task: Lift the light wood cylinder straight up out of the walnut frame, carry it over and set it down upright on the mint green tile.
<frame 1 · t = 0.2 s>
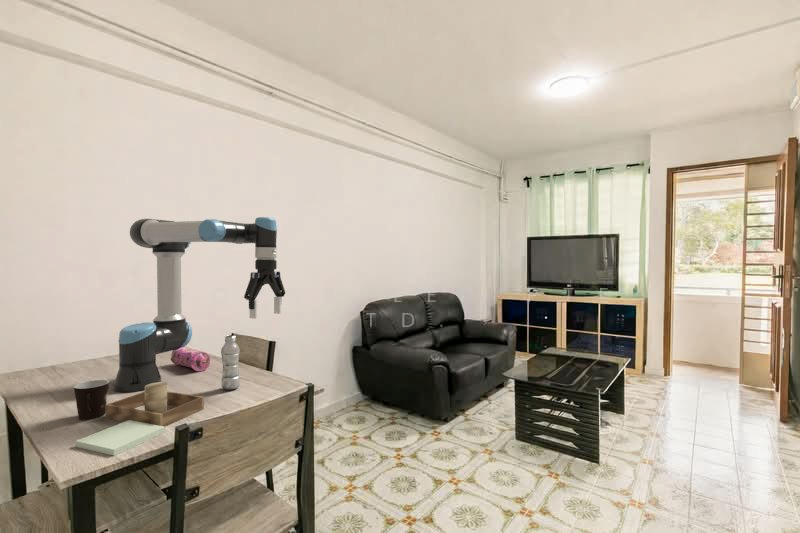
hand: (265, 315, 145), 28 cm above the table, fingers open, 13 cm apart
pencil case: (190, 368, 174), on the table
walnut frame: (156, 413, 122), on the table
plastic bottle: (230, 389, 145), on the table
light wood cylinder: (156, 399, 122), in the walnut frame
coffee mug: (88, 418, 118), on the table
mint green tile: (122, 439, 104), on the table
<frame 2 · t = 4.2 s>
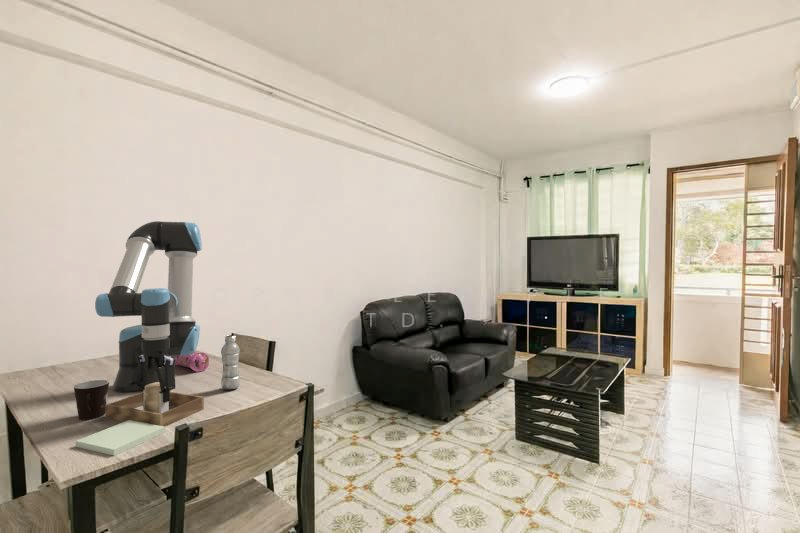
hand: (156, 410, 122), 1 cm above the table, fingers closed on light wood cylinder, 6 cm apart
light wood cylinder: (156, 399, 122), in the walnut frame, touching gripper
everything else where it was.
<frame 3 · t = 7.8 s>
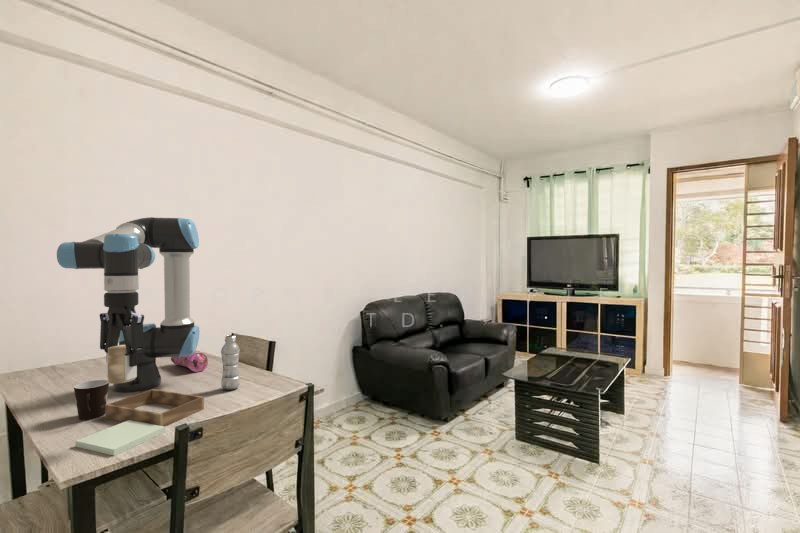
hand: (122, 376, 104), 17 cm above the table, fingers closed on light wood cylinder, 6 cm apart
light wood cylinder: (121, 363, 104), point 20 cm above the table, touching gripper
everything else where it was.
when the fingers open (3 cm above the table, at t = 11.7 s): light wood cylinder stays where it is, resting on mint green tile.
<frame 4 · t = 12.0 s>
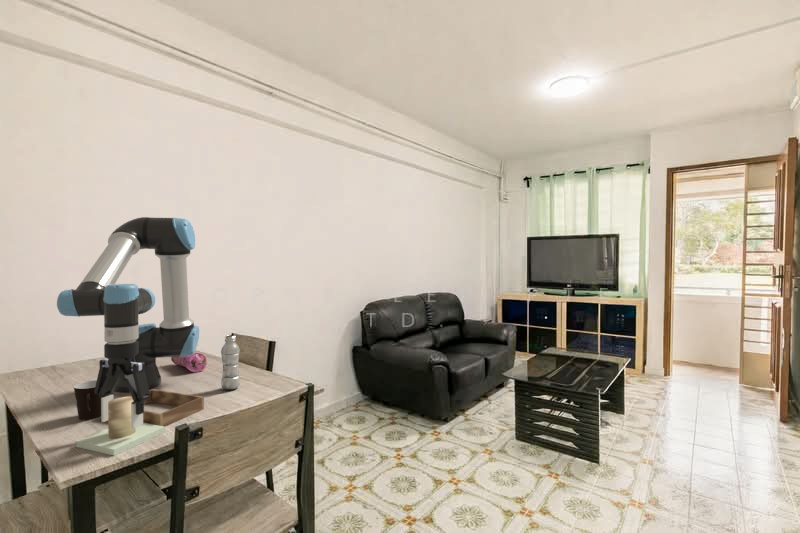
hand: (122, 422, 104), 4 cm above the table, fingers open, 10 cm apart
light wood cylinder: (122, 416, 104), on the mint green tile, point 6 cm above the table
everything else where it was.
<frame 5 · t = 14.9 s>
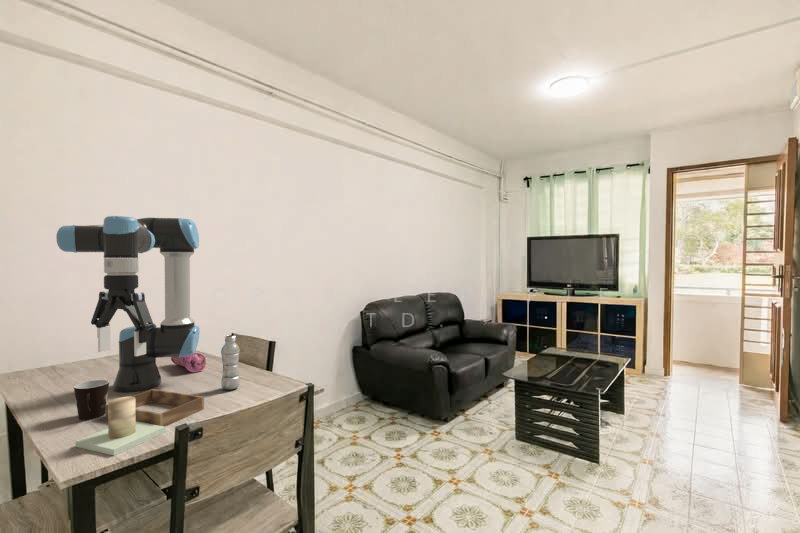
hand: (121, 353, 104), 23 cm above the table, fingers open, 13 cm apart
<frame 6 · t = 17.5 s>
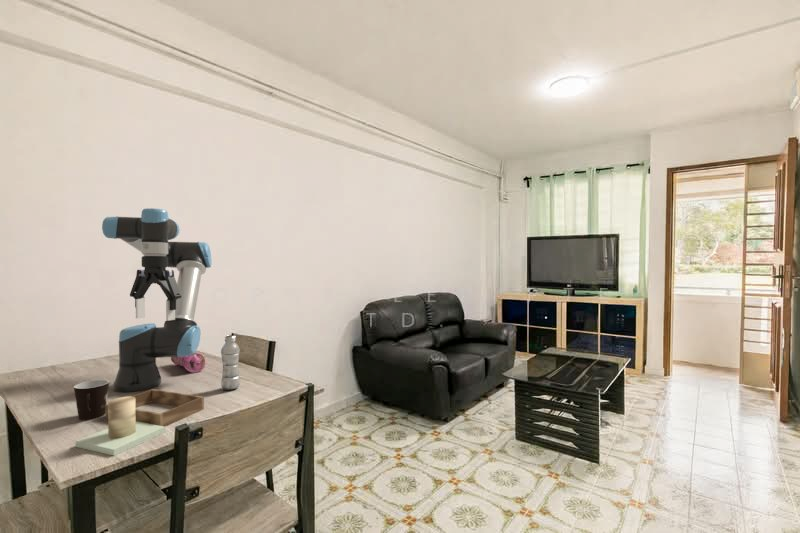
hand: (155, 319, 129), 29 cm above the table, fingers open, 13 cm apart
at the end: light wood cylinder inside the target area on the mint green tile (0.0 cm from its centre), point 6.0 cm above the mint green tile's base; light wood cylinder tilted 0°; the gripper is holding nothing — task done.
